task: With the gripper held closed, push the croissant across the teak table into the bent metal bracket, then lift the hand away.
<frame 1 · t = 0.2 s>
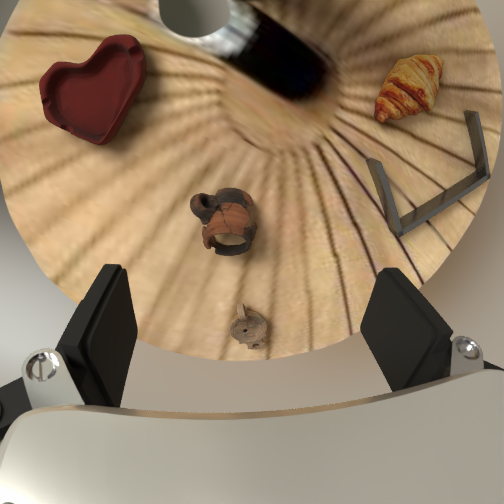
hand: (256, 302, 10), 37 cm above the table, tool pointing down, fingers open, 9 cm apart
ashtray: (101, 95, 36), on the table
croissant: (406, 86, 39), on the table
bent metal bracket: (433, 166, 47), on the table
oil lamp: (246, 318, 59), on the table
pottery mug: (222, 211, 48), on the table
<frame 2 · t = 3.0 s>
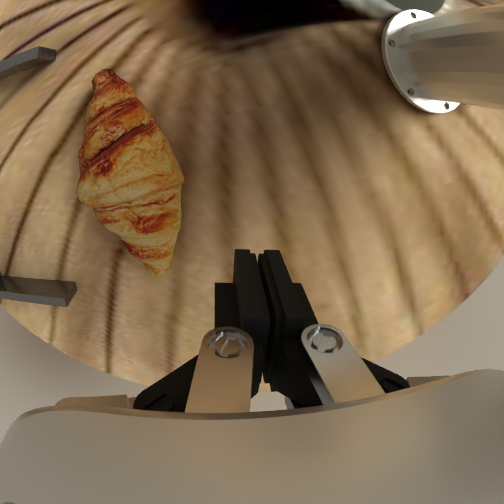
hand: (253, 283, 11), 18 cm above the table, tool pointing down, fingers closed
croissant: (134, 173, 26), on the table
bent metal bracket: (9, 183, 24), on the table
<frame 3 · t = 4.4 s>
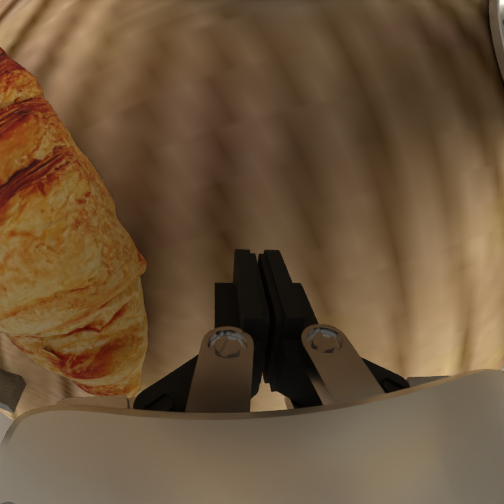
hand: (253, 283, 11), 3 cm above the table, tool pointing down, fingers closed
croissant: (59, 242, 13), on the table
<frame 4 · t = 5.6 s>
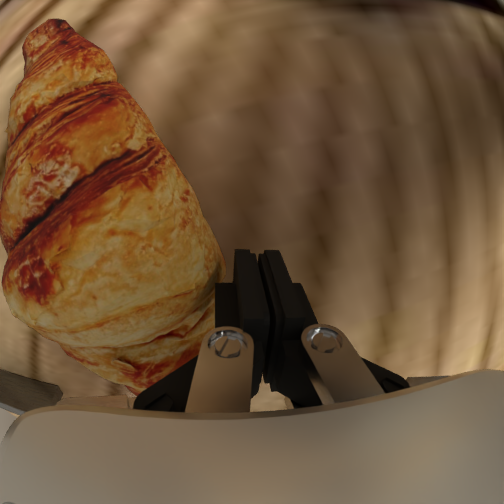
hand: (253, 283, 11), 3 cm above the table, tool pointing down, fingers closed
croissant: (118, 242, 13), on the table, touching gripper
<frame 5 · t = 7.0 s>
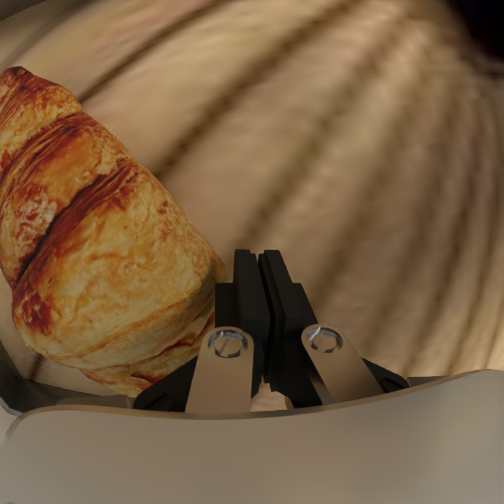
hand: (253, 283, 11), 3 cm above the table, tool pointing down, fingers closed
croissant: (120, 262, 14), on the table, touching gripper
bent metal bracket: (21, 245, 12), on the table
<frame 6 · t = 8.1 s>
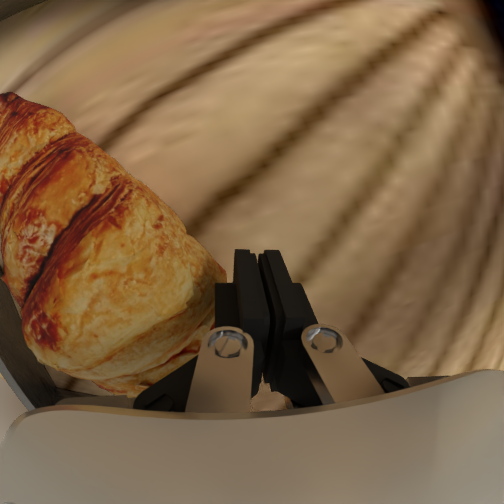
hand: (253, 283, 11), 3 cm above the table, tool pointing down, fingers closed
croissant: (125, 274, 14), on the table
bent metal bracket: (76, 247, 13), on the table
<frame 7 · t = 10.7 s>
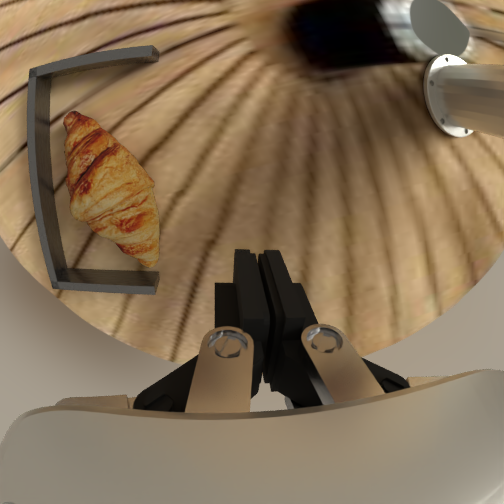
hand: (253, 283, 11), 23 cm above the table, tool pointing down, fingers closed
croissant: (114, 187, 31), on the table
bent metal bracket: (94, 174, 30), on the table
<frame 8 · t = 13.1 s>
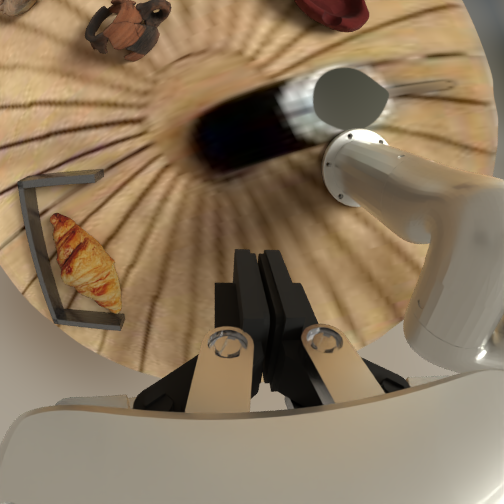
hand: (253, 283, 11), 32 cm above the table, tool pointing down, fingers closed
croissant: (90, 260, 45), on the table
bent metal bracket: (74, 252, 43), on the table
oil lamp: (29, 0, 21), on the table
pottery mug: (136, 30, 29), on the table
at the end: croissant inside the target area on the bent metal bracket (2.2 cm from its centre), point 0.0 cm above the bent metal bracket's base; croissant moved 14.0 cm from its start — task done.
